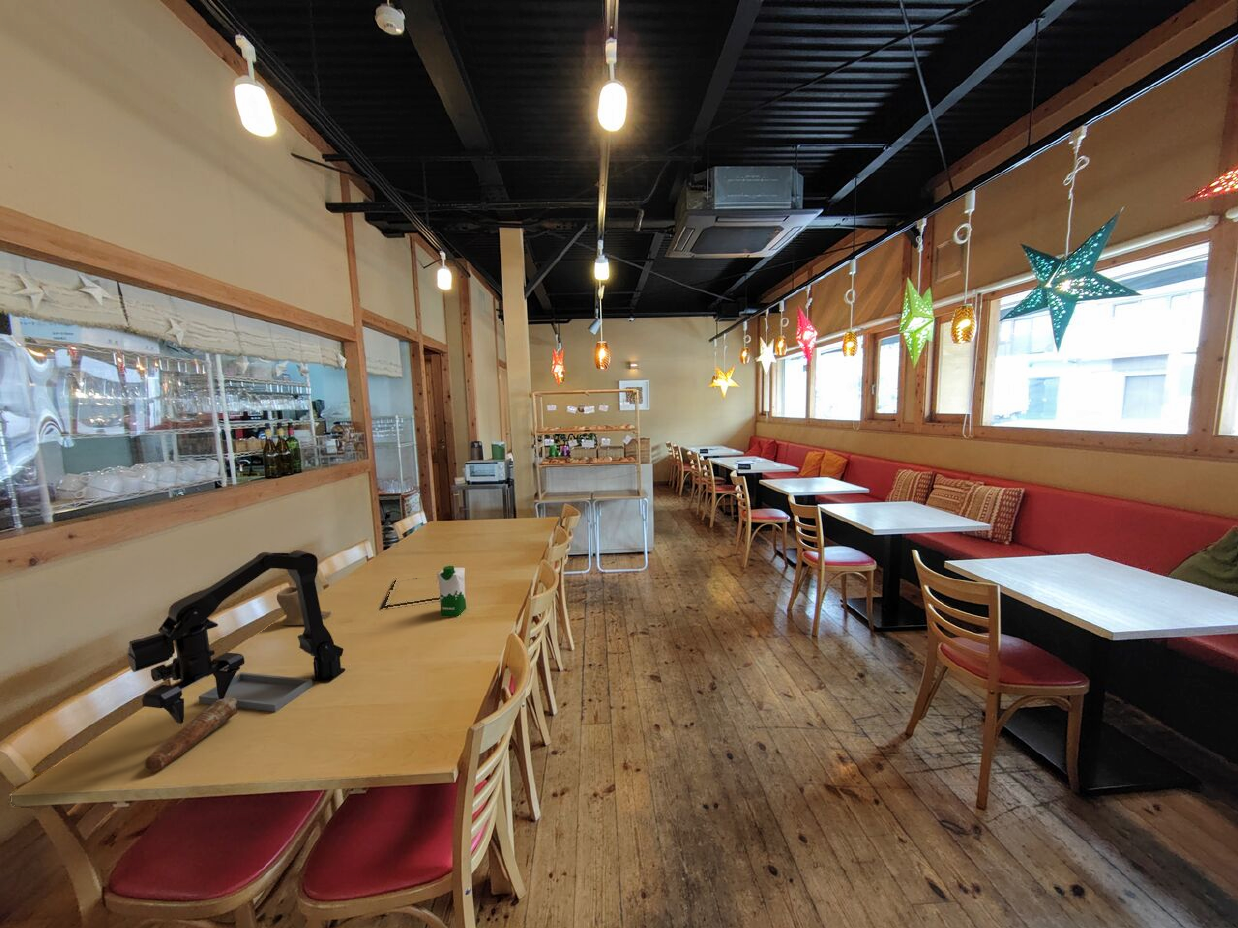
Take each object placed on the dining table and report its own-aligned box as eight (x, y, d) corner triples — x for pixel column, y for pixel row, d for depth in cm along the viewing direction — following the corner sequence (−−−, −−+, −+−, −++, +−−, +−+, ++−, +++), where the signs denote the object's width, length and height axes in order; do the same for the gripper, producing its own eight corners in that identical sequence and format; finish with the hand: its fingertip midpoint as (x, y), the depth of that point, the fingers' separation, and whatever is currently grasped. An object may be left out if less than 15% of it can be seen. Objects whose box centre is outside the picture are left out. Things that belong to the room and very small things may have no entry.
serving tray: (312, 687, 130) (311, 679, 130) (275, 713, 119) (274, 704, 119) (242, 679, 135) (241, 672, 134) (199, 704, 123) (198, 696, 123)
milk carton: (438, 619, 172) (434, 569, 170) (449, 609, 181) (446, 561, 179) (459, 620, 171) (456, 569, 169) (469, 609, 180) (466, 561, 178)
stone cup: (271, 629, 167) (267, 591, 165) (298, 615, 179) (294, 579, 177) (307, 631, 165) (303, 592, 163) (332, 617, 177) (329, 580, 175)
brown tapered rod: (240, 716, 117) (241, 697, 116) (158, 777, 98) (159, 756, 97) (218, 710, 118) (219, 691, 117) (133, 770, 99) (133, 749, 98)
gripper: (208, 630, 119) (215, 684, 120) (118, 669, 100) (128, 733, 102) (242, 632, 117) (249, 688, 118) (157, 673, 98) (167, 738, 100)
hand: (201, 710), depth 110 cm, fingers open, 9 cm apart
